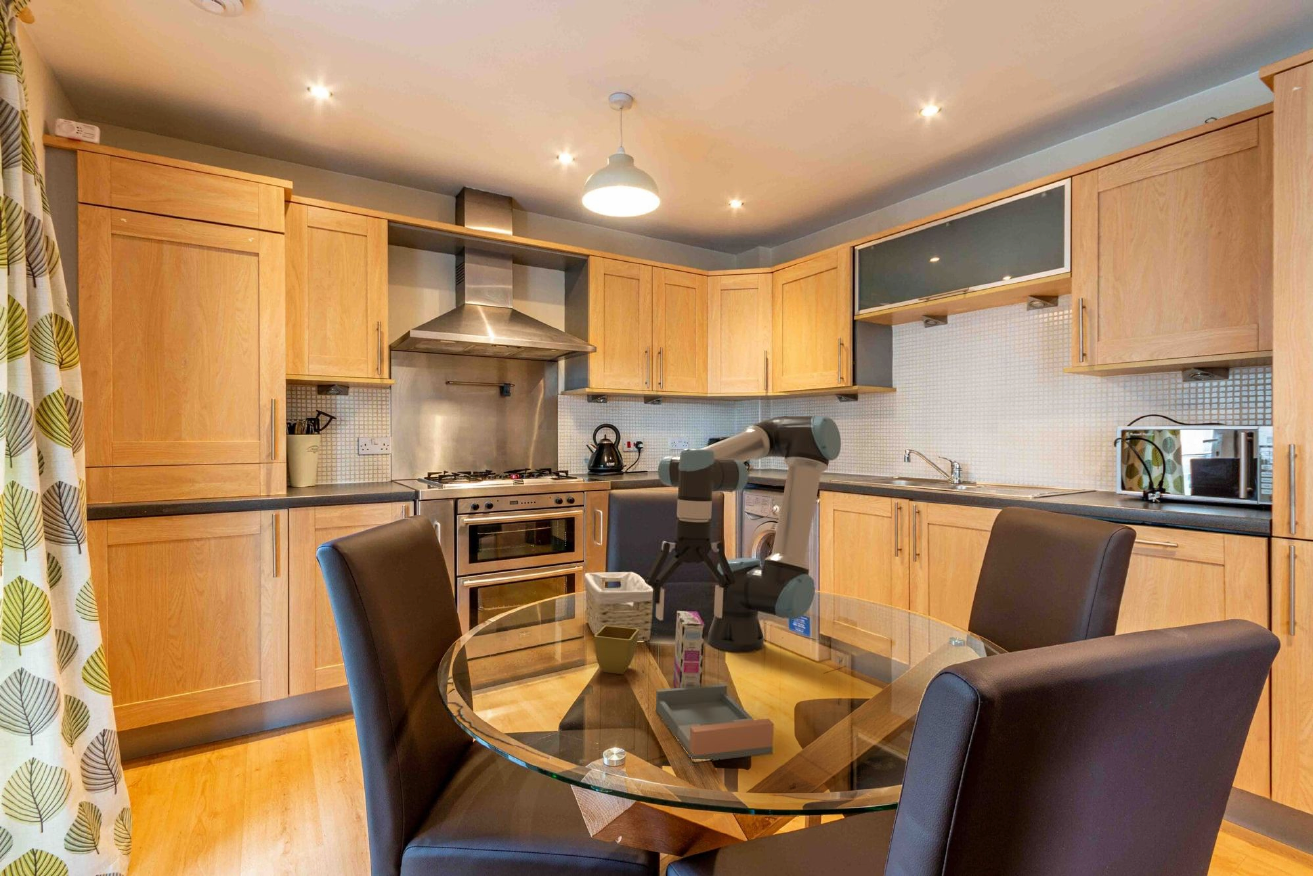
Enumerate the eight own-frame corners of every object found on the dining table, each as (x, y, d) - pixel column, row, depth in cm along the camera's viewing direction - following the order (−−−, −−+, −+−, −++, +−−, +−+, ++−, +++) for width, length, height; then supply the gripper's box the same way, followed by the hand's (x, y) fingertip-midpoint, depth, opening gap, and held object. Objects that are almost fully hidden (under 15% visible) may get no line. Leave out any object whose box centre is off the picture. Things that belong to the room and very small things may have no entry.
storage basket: (654, 644, 168) (657, 589, 168) (595, 647, 164) (597, 590, 164) (634, 619, 191) (636, 571, 191) (581, 621, 187) (583, 571, 187)
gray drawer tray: (724, 704, 130) (725, 679, 130) (772, 753, 110) (773, 723, 110) (655, 710, 126) (656, 684, 126) (693, 762, 106) (694, 732, 106)
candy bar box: (702, 703, 130) (705, 624, 131) (678, 703, 130) (681, 624, 130) (694, 682, 142) (697, 610, 142) (672, 682, 141) (675, 609, 141)
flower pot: (628, 679, 142) (630, 639, 142) (592, 674, 144) (593, 635, 144) (637, 666, 151) (639, 628, 151) (602, 662, 153) (604, 625, 153)
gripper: (738, 518, 144) (734, 611, 143) (634, 516, 136) (629, 614, 136) (753, 522, 136) (748, 620, 136) (643, 520, 129) (638, 624, 128)
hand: (689, 617), depth 136 cm, fingers open, 13 cm apart
